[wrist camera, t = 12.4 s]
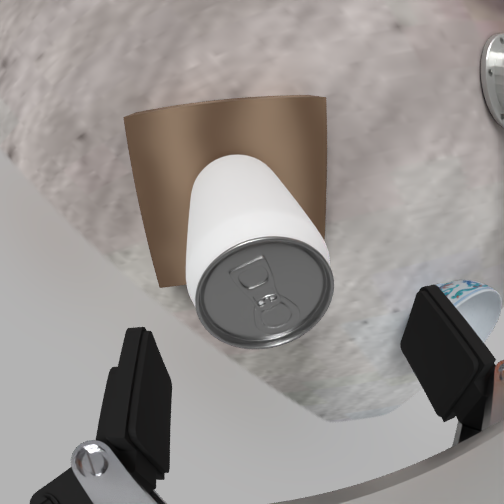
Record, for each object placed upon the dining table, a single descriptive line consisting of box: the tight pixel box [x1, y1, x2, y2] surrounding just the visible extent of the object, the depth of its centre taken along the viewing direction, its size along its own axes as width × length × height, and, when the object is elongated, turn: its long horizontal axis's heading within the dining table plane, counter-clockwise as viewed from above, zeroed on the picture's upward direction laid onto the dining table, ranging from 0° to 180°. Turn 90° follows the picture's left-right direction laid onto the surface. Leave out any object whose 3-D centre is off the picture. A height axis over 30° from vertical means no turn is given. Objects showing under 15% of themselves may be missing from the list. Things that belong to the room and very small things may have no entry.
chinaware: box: [413, 280, 502, 374], centre depth 35 cm, size 15×15×8 cm
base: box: [124, 95, 327, 288], centre depth 24 cm, size 14×14×4 cm
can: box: [186, 155, 334, 349], centre depth 17 cm, size 6×6×12 cm
